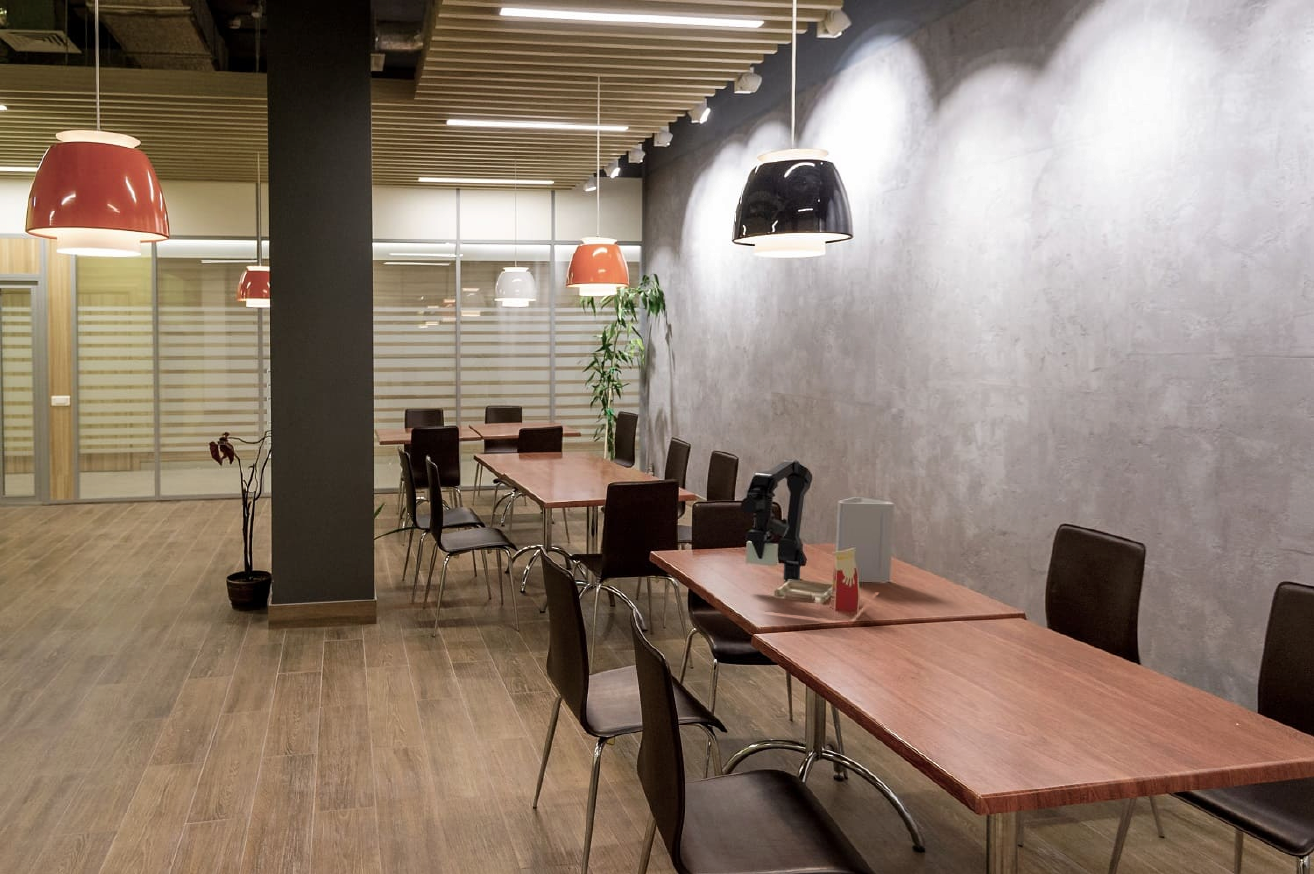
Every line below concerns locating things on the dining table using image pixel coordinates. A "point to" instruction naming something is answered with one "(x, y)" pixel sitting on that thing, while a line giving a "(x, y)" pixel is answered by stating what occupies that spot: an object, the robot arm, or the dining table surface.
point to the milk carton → (845, 582)
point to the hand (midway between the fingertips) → (761, 557)
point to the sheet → (768, 554)
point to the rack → (806, 589)
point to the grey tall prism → (867, 536)
